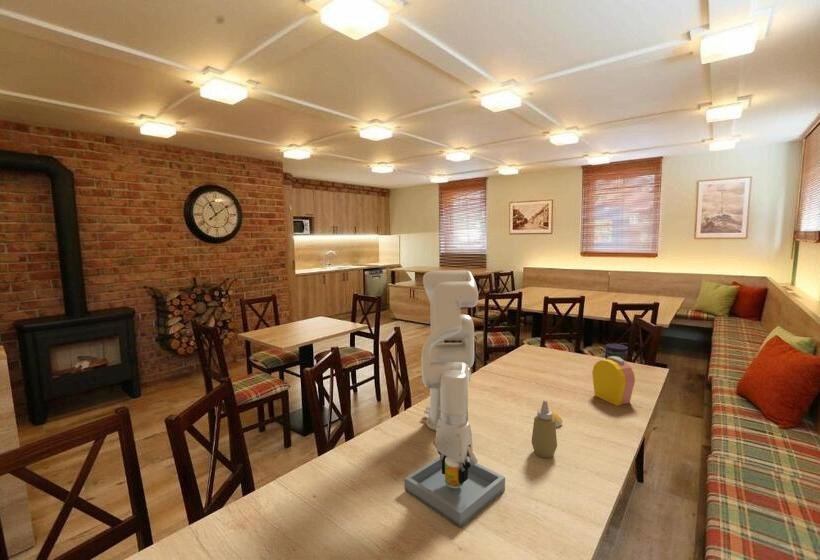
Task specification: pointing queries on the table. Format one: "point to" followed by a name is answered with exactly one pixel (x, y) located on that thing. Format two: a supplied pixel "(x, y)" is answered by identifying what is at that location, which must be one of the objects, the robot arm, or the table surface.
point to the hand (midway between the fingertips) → (454, 476)
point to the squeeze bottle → (544, 432)
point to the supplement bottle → (452, 473)
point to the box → (455, 491)
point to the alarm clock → (613, 380)
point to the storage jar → (616, 351)
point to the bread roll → (557, 419)
